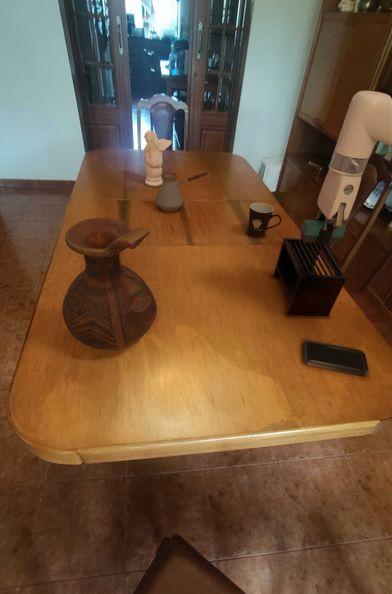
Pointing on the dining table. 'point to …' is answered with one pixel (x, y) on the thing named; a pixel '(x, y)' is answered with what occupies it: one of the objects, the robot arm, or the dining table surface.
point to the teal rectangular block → (313, 229)
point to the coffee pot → (172, 191)
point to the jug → (107, 287)
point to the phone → (335, 358)
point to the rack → (308, 278)
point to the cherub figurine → (154, 158)
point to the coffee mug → (260, 219)
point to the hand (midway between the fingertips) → (319, 239)
